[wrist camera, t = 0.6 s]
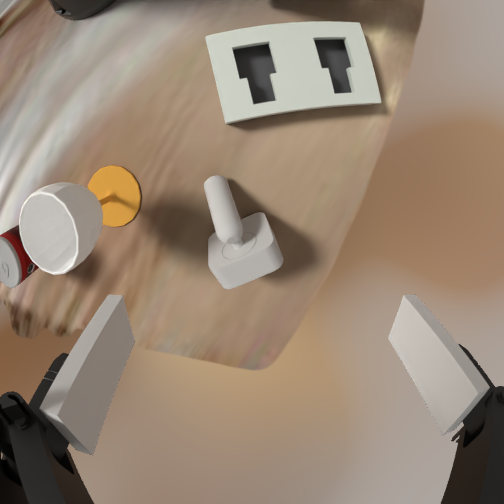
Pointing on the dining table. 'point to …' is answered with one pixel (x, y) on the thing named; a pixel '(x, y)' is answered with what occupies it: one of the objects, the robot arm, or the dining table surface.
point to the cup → (76, 217)
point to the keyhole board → (291, 68)
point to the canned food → (14, 259)
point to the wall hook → (238, 239)
